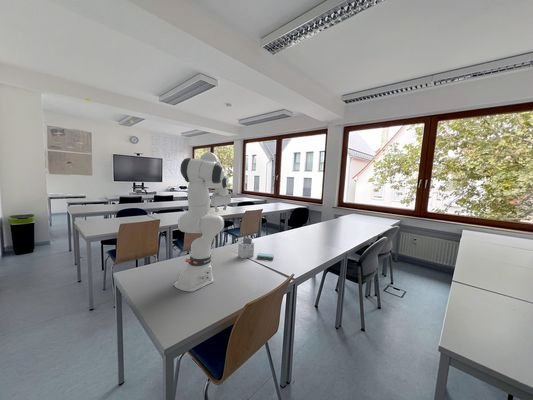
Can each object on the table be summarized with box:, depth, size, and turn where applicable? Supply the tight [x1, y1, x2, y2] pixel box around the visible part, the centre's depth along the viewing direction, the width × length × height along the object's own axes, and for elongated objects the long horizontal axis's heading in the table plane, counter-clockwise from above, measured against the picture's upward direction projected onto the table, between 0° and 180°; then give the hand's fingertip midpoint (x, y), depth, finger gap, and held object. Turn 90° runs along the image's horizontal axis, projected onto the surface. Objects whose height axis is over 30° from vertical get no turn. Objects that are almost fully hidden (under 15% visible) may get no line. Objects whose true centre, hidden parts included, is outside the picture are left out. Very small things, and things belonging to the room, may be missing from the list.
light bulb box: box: [237, 241, 255, 259], centre depth 172 cm, size 11×7×11 cm, turn 129°
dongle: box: [240, 236, 253, 244], centre depth 171 cm, size 8×4×4 cm, turn 63°
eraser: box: [256, 252, 275, 261], centre depth 169 cm, size 12×5×3 cm, turn 81°
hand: (220, 211), depth 164 cm, fingers open, 8 cm apart
